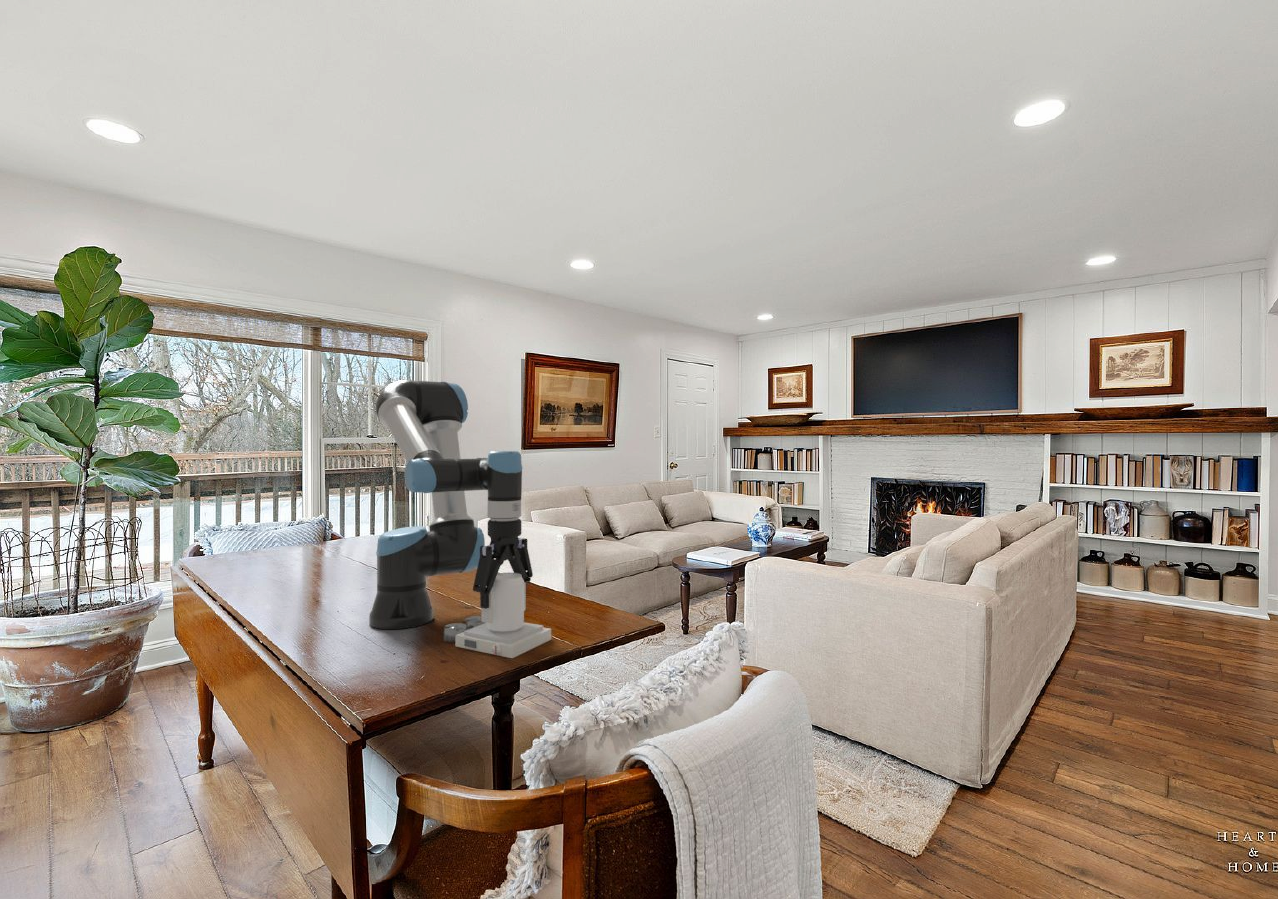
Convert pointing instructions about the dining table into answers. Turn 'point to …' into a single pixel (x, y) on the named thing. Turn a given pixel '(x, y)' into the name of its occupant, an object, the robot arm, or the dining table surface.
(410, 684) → the dining table surface
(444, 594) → the dining table surface
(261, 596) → the dining table surface
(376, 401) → the robot arm
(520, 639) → the scale
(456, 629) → the spacer
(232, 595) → the dining table surface
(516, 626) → the beverage can
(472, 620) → the spacer
